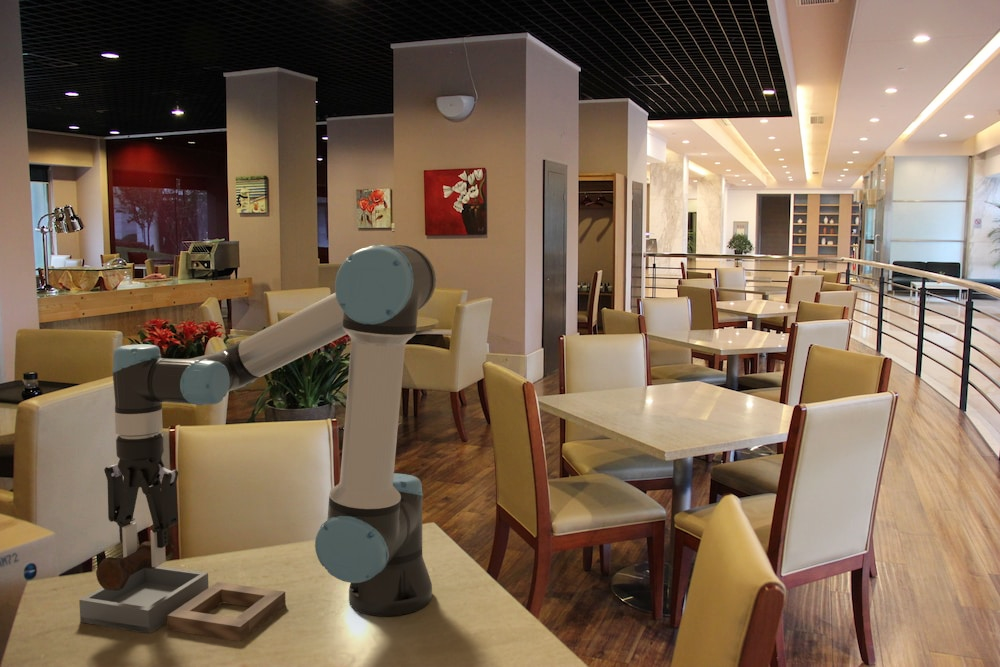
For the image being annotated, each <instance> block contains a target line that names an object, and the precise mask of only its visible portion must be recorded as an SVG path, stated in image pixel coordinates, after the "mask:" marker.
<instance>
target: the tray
mask: <svg viewBox="0 0 1000 667" xmlns="http://www.w3.org/2000/svg"><path fill="white" fill-rule="evenodd" d="M209 587H210V586H209V573H208V572H203V571H197V570H188V569H181V568H175V567H167V566H161V565H159V566H158V567H156V568H154V569H147V568H143V569H141V570H140V571H138V572H136V573H134V574H132V575H130V577H129V579H128V581H127V582H126V584H125V586H124V588H123V589H121V590H117V591H112V590H106V589H104V588H103V587H102V586H101V587H100V588H98V589H96V590H95V591H92V592H91V593H89V594H87V595H86V596H84V597H82V598H79V600H78V601H79V604H78V605H79V621H80V623H84V624H90V625H95V626H103V627H107V628H113V629H114V628H115V629H118V630H119V629H120V630H121V629H122V630H127V631H132V632H140V633H146V634H151V633H152V632H154V631H155V630H158V629H159V628H160V627H162V625H163V626H164V624H166V623H167V615H169V614H170V613H172V612H173V611H175V610H176V609H178V608H179V607H181V606H182V605H184V604H185V603H187V602H188V601H190V600H191V599H193V598H194V597H196V596H197V595H199V594H200V593H202V592H203V591H205V590H206V589H208V588H209Z"/></svg>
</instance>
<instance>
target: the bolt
mask: <svg viewBox="0 0 1000 667" xmlns="http://www.w3.org/2000/svg"><path fill="white" fill-rule="evenodd" d="M171 552H172V545H171V543H170V542H169V541H168V545H167V546H165V554H166V557H167V556H169V555H170V554H171ZM157 567H158V566H157ZM143 568H147V569H154V568H156V567H152V559H151V540H150V541H143V542H142V543H141V544H140V545H139V546H138V547H137V551H136V552H135V553H133V554H131V555H129V556H127V557H125V558H119V557H113V556H107V557H104V558H103V559H102V560H101V562H100V563H99V564H98V567H97V568H96V572H95V574H96V579H97V582H98V583H99V585H100V586H101V588H102V587H103V588H104V589H106V590H112V591H117V590H121V589H123V588H124V586H125V584H126V582H127V581H128V579H129V577H130V575H132V574H134V573H136V572H138V571H140V570H141V569H143Z"/></svg>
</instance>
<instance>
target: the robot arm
mask: <svg viewBox="0 0 1000 667" xmlns="http://www.w3.org/2000/svg"><path fill="white" fill-rule="evenodd" d="M436 276H437V274H436V271H435V268H434V265H433V264H432V262H431V260H430V259H429V258H428V256H426V254H424V252H422V251H421V250H419V249H418V248H415V247H412V246H410V245H400V244H399V245H398V244H397V245H385V244H380V245H379V244H378V245H377V244H373V245H369V246H366V247H363V248H360V249H358V250H356V251H354V252H353V253H351V254H350V255H349V256H348V257H347V258H346V259H344V261H343V262H342V264H341V265H340V267H339V269H338V270H337V272H336V275H335V281H334V293H332V294H330V295H327V296H326V297H324V298H323V299H320V300H319V301H317V302H316V301H315V302H314V303H312V304H311V305H308V306H307V307H305V308H302V309H300V310H299V311H297V312H295V313H293V314H291V315H289V316H287V317H286V318H284V319H281V320H280V321H278V322H276V323H274V324H272V325H270V326H268V327H266V328H264V329H262V330H260V331H257V332H256V333H254V334H252V335H251V336H248V337H246V338H245V339H243V340H241V341H239V342H237V343H234V344H232V345H230V346H229V347H227V348H225V349H222V350H220V351H217V352H216V351H215V352H213V353H209V354H205V355H201V356H196V357H191V358H165V357H162V354H161V349H160V347H159V346H158V345H154V344H147V343H146V344H145V343H144V344H138V343H137V344H127V345H126V344H125V345H121V346H118V347H116V348H115V350H114V351H113V356H112V358H113V360H112V363H113V364H112V371H111V374H112V381H113V391H114V392H113V395H114V404H115V405H114V421H115V422H114V423H115V426H114V427H115V428H114V429H115V430H114V431H115V434H116V435H117V437H116V438H115V446H116V447H115V448H116V450H115V451H116V456H117V458H118V459H119V461H118V462H117V463H114V464H112V465H109V466H107V467H105V468H104V474H105V477H106V480H107V508H108V509H107V511H108V512H107V514H108V515H107V516H108V520H109V522H111V523H112V522H115V523H116V524H117V526H119V527H118V530H119V541H120V543H121V544H122V556H123V558H125V557H127V556H129V555H131V554H133V553H135V552H136V551H137V549H138V527H137V526H138V525H137V522H135V521H136V518H135V517H134V515H135V514H134V513H135V508H136V503H137V498H138V494H139V493H138V492H139V489H140V488H141V492H142V493H143V495H145V499H146V501H147V506H148V508H149V513H150V516H151V521H152V524H153V527H154V528H153V529H151V530H150V542H151V559H152V567H157V566H161V565H162V564H164V563H166V561H167V560H166V558H167V556H166V554H165V546H167V545H168V542H169V529H170V528H171V527H173V526H175V525H177V524H178V522H179V515H178V499H177V498H178V497H177V481H178V476H179V471H178V470H177V469H173V470H170V469H168V468H166V467H165V465H164V462H163V459H162V458H163V454H164V451H165V450H164V449H165V448H164V434H163V433H162V430H163V429H164V428H163V425H164V424H163V403H173V404H186V405H187V404H188V405H196V406H203V405H209V406H210V405H217V404H219V403H221V402H223V400H224V397H226V396H227V394H228V392H231V391H234V390H240V389H243V388H245V387H248V386H250V385H252V383H254V382H255V381H256V380H258V379H260V378H261V377H263V376H265V375H267V374H269V373H271V372H274V371H275V370H277V369H279V368H282V367H283V366H286V365H288V364H290V363H292V362H294V361H296V360H298V359H300V358H301V357H304V356H306V355H308V354H310V353H312V352H314V351H316V350H318V349H320V348H323V347H324V346H326V345H328V344H330V343H332V342H334V341H337V340H338V339H341V338H342V337H344V336H346V335H348V337H349V338H350V340H351V341H350V352H349V365H348V366H349V367H348V377H347V390H346V400H345V401H346V403H345V417H344V424H343V425H344V427H343V428H344V429H343V440H342V450H341V451H342V452H341V453H342V454H341V464H340V465H341V466H340V476H339V477H340V478H339V483H338V484H336V485H335V486H334V487H332V488H331V490H329V497H328V498H329V499H328V507H327V508H328V509H327V518H326V521H324V522H323V523H322V524H321V525H320V528H319V530H318V531H317V533H316V536H315V540H314V541H315V543H314V549H315V554H316V557H317V559H318V562H319V563H320V565H321V566H322V567H323V568H324V569H325V570H326V571H327V572H328V574H329V575H331V576H332V577H333V578H335V579H337V580H339V581H342V582H345V583H348V584H349V583H350V584H349V586H348V602H349V605H350V606H351V607H352V608H353V609H355V610H356V611H357V612H360V613H363V614H367V615H371V616H376V617H377V616H378V617H394V616H401V615H407V614H410V613H413V612H417V611H419V610H421V609H424V608H425V607H426V606H427V605H428V604H429V603H430V602H431V601H432V598H433V585H432V581H431V576H430V575H429V571H428V568H427V566H426V563H425V560H424V557H423V497H424V493H423V489H422V487H423V485H422V482H421V480H420V479H419V477H417V476H414V475H411V474H405V473H396V472H395V462H396V452H397V440H398V428H399V418H400V417H399V416H400V407H401V396H402V395H401V394H402V385H403V384H402V383H403V376H404V375H403V374H404V364H405V362H404V361H405V351H406V344H407V343H408V341H409V340H411V339H412V338H413V337H414V336H416V334H417V324H418V313H419V310H421V309H422V308H424V307H425V306H426V305H427V304H428V302H429V301H430V300H431V299H432V297H433V295H434V293H435V288H436V282H437V277H436ZM133 521H134V522H133Z"/></svg>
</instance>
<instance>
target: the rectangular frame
mask: <svg viewBox="0 0 1000 667" xmlns="http://www.w3.org/2000/svg"><path fill="white" fill-rule="evenodd" d="M223 603H224V604H229V605H238V606H243V607H248V608H247V609H246V610H244V611H242V613H241V614H239V615H237V617H231V616H225V615H218V614H212V613H210V611H212V610H213V609H215V608H216V607H218V606H219V605H220V604H223ZM286 604H287V603H286V591H284V590H278V589H277V590H276V589H271V588H263V587H255V586H247V585H241V584H236V583H235V584H233V583H228V582H220V581H217V582H215V583H214V584H212V585H210V586H209V588H208V589H206V590H205V591H203V592H202V593H200V594H199V595H197V596H196V597H194V598H193V599H191V600H190V601H188V602H187V603H185V604H184V605H182V606H181V607H179V608H178V609H176V610H175V611H173V612H172V613H170V614H169V615H167V622H166V623H167V630H168V631H172V632H180V633H181V632H182V633H186V634H192V635H199V636H204V637H211V638H218V639H224V640H229V641H236V642H242V641H243V640H244V639H246V638H247V637H248V636H249V635H250V634H252V633H253V632H254V631H256V630H257V629H258V628H259V627H260V626H261V625H263V624H264V623H265V622H267V621H268V620H269V619H270V618H271V617H272V616H274V615H275V614H276V613H277V612H279V611H280V610H281V609H283V607H285V606H286Z"/></svg>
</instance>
